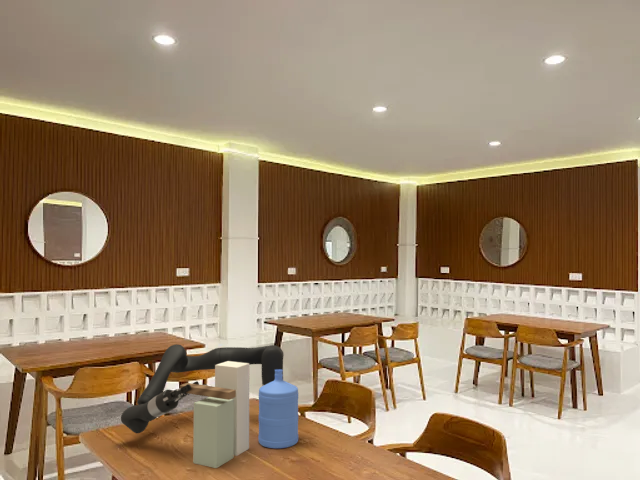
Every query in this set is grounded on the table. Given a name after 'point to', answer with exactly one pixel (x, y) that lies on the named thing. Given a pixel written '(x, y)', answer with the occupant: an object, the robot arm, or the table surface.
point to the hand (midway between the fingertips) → (194, 385)
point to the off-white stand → (237, 399)
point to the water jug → (278, 413)
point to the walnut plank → (211, 391)
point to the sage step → (213, 431)
